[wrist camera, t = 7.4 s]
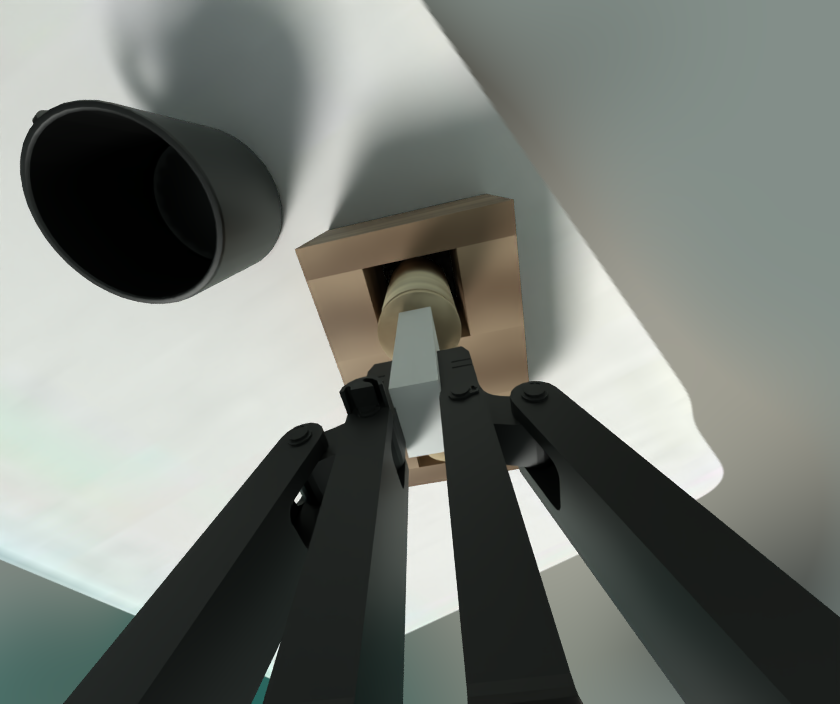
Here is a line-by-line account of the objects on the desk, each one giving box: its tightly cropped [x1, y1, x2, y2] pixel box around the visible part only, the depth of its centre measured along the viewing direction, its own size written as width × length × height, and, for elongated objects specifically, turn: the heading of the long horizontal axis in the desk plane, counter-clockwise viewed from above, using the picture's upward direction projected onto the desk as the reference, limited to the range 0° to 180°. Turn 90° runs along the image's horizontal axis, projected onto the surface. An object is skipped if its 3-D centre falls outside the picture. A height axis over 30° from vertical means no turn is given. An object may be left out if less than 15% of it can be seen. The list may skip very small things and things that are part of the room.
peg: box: [377, 257, 461, 359], centre depth 20 cm, size 4×4×8 cm
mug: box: [20, 100, 282, 304], centre depth 21 cm, size 9×12×9 cm
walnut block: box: [295, 194, 529, 487], centre depth 26 cm, size 19×12×8 cm, turn 12°
